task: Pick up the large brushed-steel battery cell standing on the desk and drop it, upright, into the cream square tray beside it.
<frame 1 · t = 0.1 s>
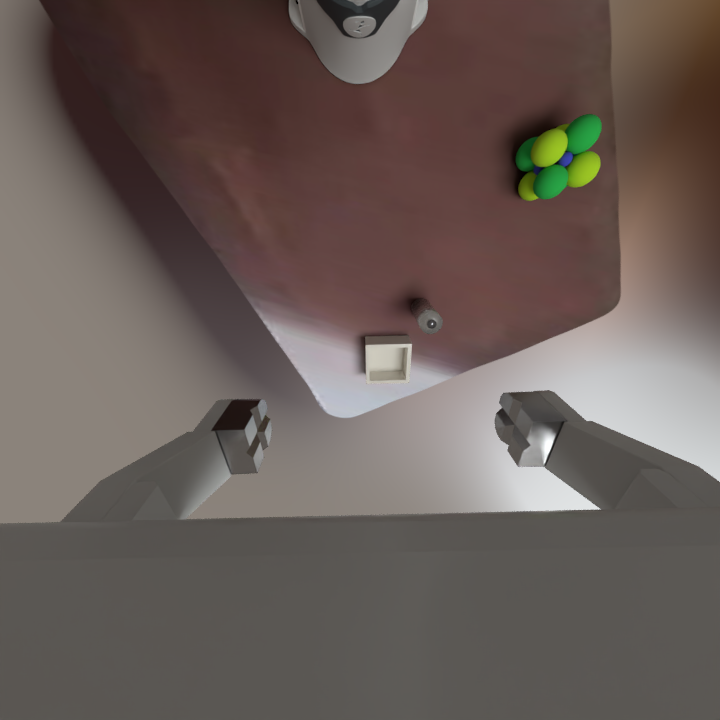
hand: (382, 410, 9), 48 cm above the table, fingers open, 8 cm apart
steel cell: (420, 307, 57), on the table
cream square tray: (386, 355, 62), on the table
molecule model: (537, 166, 46), on the table
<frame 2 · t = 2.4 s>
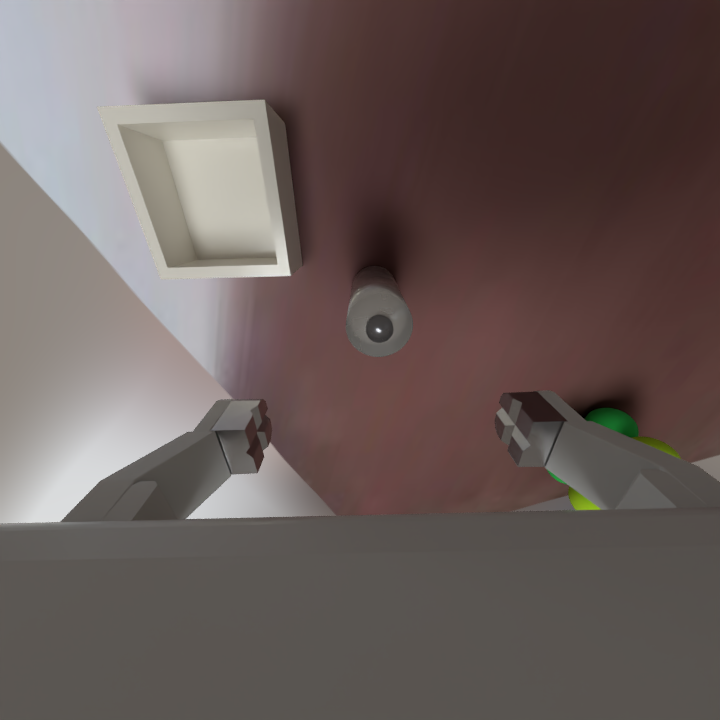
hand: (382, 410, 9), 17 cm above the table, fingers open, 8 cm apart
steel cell: (373, 288, 25), on the table
cream square tray: (234, 204, 21), on the table
molecule model: (572, 432, 33), on the table
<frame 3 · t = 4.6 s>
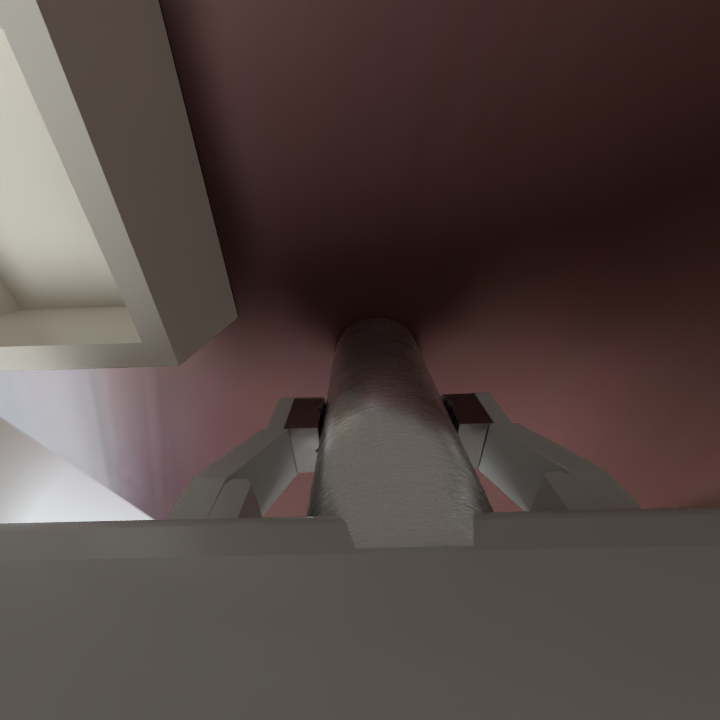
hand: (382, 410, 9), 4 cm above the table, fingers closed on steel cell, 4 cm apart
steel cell: (375, 356, 13), on the table, touching gripper
cream square tray: (76, 196, 10), on the table
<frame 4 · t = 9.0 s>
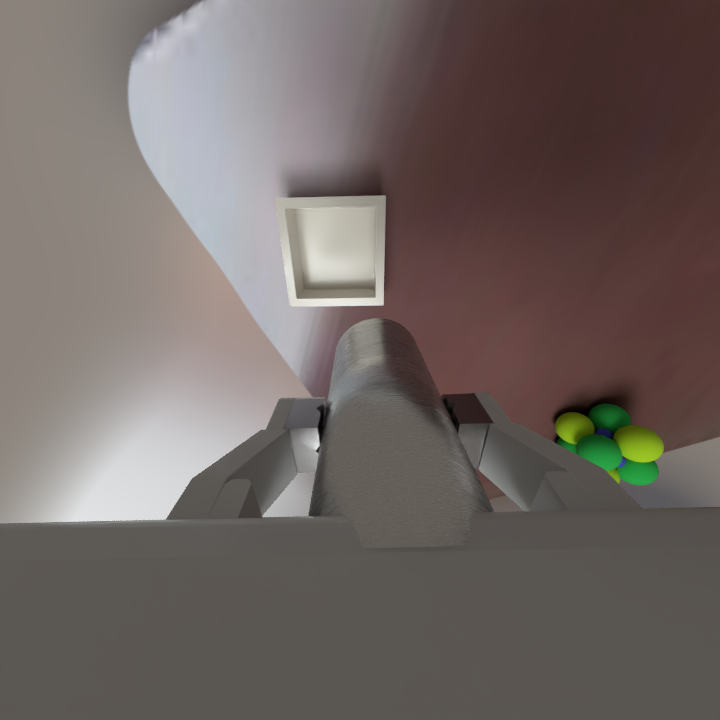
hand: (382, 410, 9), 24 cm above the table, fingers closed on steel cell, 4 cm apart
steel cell: (376, 357, 13), point 20 cm above the table, touching gripper
cream square tray: (337, 250, 29), on the table
molecule model: (579, 423, 41), on the table
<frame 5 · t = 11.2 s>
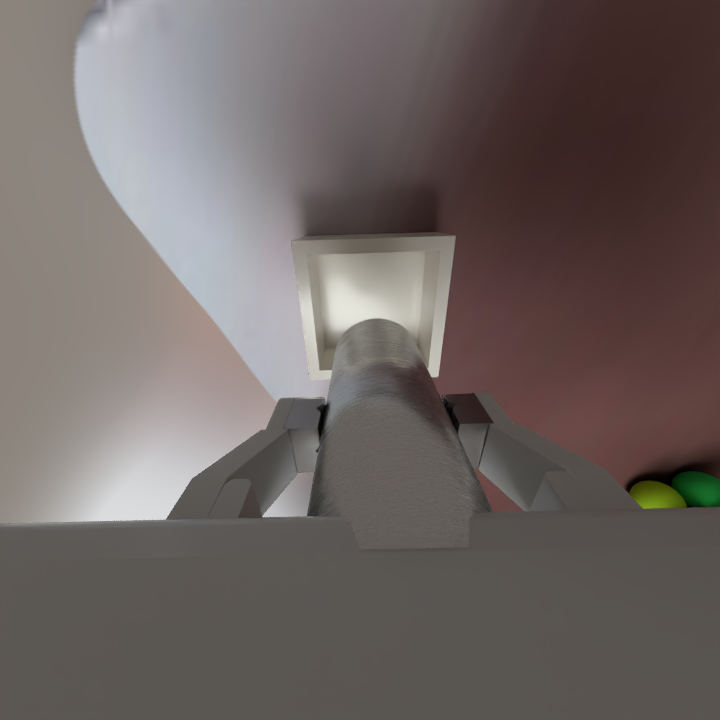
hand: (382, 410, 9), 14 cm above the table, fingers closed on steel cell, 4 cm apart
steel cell: (376, 357, 13), point 10 cm above the table, touching gripper
cream square tray: (371, 298, 22), on the table
molecule model: (655, 490, 33), on the table
when the fingers open (7 cm above the table, at t = 13.4 s): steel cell drops 2 cm, resting on cream square tray.
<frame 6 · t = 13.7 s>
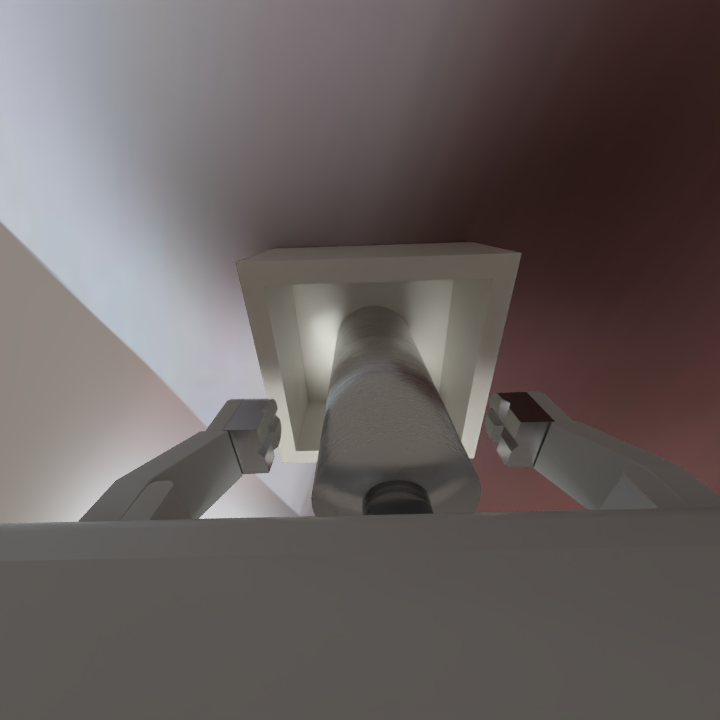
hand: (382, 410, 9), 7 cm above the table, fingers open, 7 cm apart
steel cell: (373, 341, 15), point 1 cm above the table, touching cream square tray
cream square tray: (372, 337, 15), on the table
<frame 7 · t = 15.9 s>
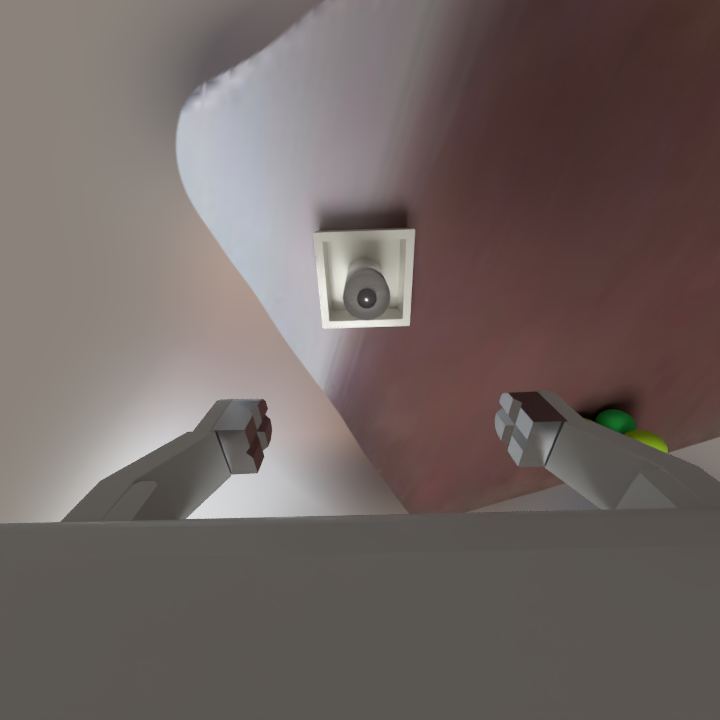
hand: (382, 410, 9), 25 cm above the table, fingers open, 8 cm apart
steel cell: (364, 275, 31), point 1 cm above the table, touching cream square tray
cream square tray: (364, 274, 32), on the table
molecule model: (586, 428, 43), on the table
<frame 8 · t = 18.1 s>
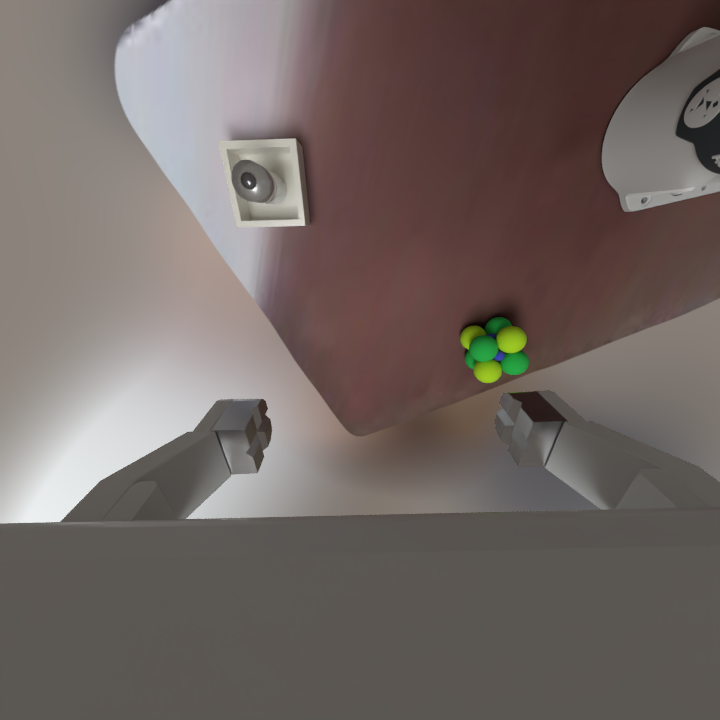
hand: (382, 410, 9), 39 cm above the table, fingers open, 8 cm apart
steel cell: (272, 189, 39), point 1 cm above the table, touching cream square tray
cream square tray: (273, 189, 40), on the table
molecule model: (482, 339, 51), on the table
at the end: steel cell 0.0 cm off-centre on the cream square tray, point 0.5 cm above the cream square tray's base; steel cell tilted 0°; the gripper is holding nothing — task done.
